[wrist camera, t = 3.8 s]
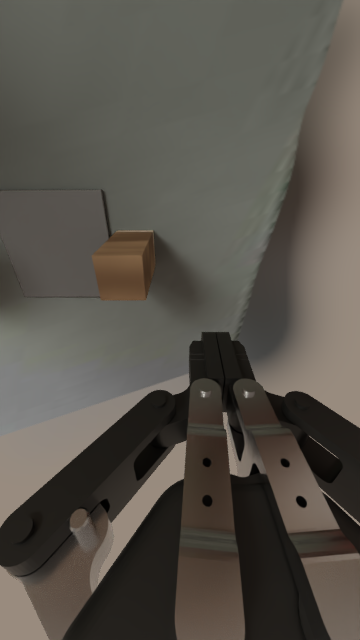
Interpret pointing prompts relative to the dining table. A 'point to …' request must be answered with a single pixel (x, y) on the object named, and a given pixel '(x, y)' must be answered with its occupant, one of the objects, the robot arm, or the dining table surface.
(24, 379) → the dining table surface
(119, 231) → the tan wooden block
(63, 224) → the mat
